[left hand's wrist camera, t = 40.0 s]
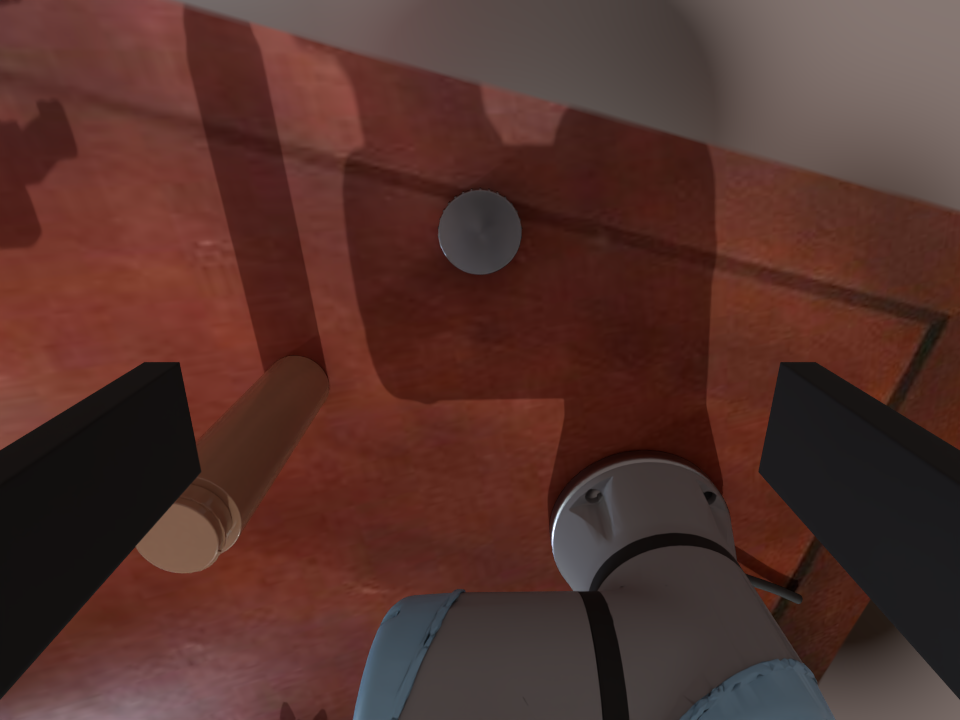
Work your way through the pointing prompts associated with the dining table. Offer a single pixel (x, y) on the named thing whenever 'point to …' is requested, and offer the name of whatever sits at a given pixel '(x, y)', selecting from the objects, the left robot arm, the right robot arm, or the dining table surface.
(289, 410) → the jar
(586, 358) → the dining table surface
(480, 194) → the lid
